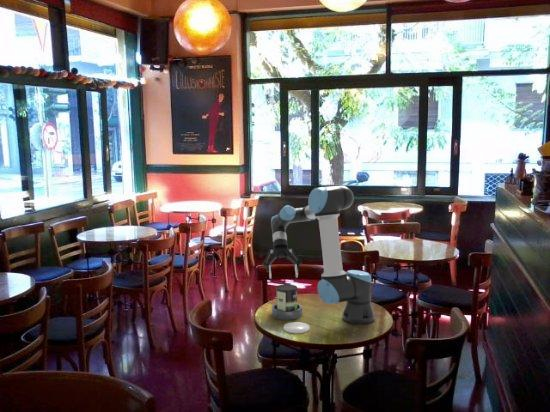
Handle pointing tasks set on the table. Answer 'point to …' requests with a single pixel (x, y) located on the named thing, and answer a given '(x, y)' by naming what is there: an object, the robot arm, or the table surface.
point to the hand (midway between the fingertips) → (283, 277)
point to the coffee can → (286, 297)
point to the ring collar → (286, 313)
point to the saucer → (296, 327)
